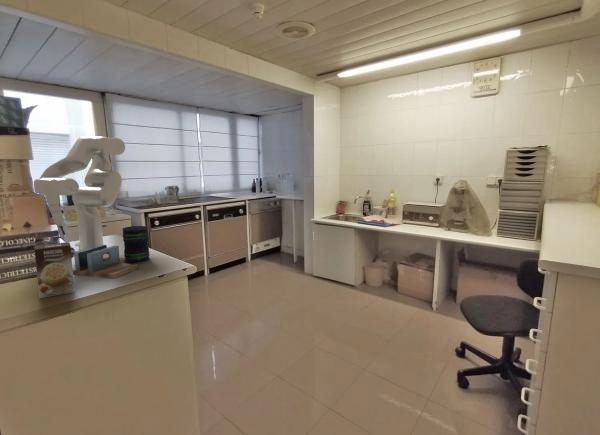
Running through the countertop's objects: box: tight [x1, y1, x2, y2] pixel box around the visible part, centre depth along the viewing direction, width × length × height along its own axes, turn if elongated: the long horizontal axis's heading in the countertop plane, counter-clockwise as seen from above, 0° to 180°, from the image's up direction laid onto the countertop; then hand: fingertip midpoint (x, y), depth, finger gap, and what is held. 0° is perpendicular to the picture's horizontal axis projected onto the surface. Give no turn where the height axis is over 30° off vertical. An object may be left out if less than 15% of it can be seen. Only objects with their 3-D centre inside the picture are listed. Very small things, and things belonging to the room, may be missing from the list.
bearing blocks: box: [73, 244, 121, 273], centre depth 118 cm, size 8×13×7 cm, turn 168°
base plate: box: [73, 262, 138, 279], centre depth 118 cm, size 20×12×2 cm, turn 78°
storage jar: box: [122, 225, 150, 265], centre depth 131 cm, size 10×10×15 cm
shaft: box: [71, 247, 111, 260], centre depth 119 cm, size 22×5×5 cm, turn 78°
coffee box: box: [33, 241, 76, 299], centre depth 96 cm, size 9×6×16 cm
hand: (54, 252), depth 123 cm, fingers closed
